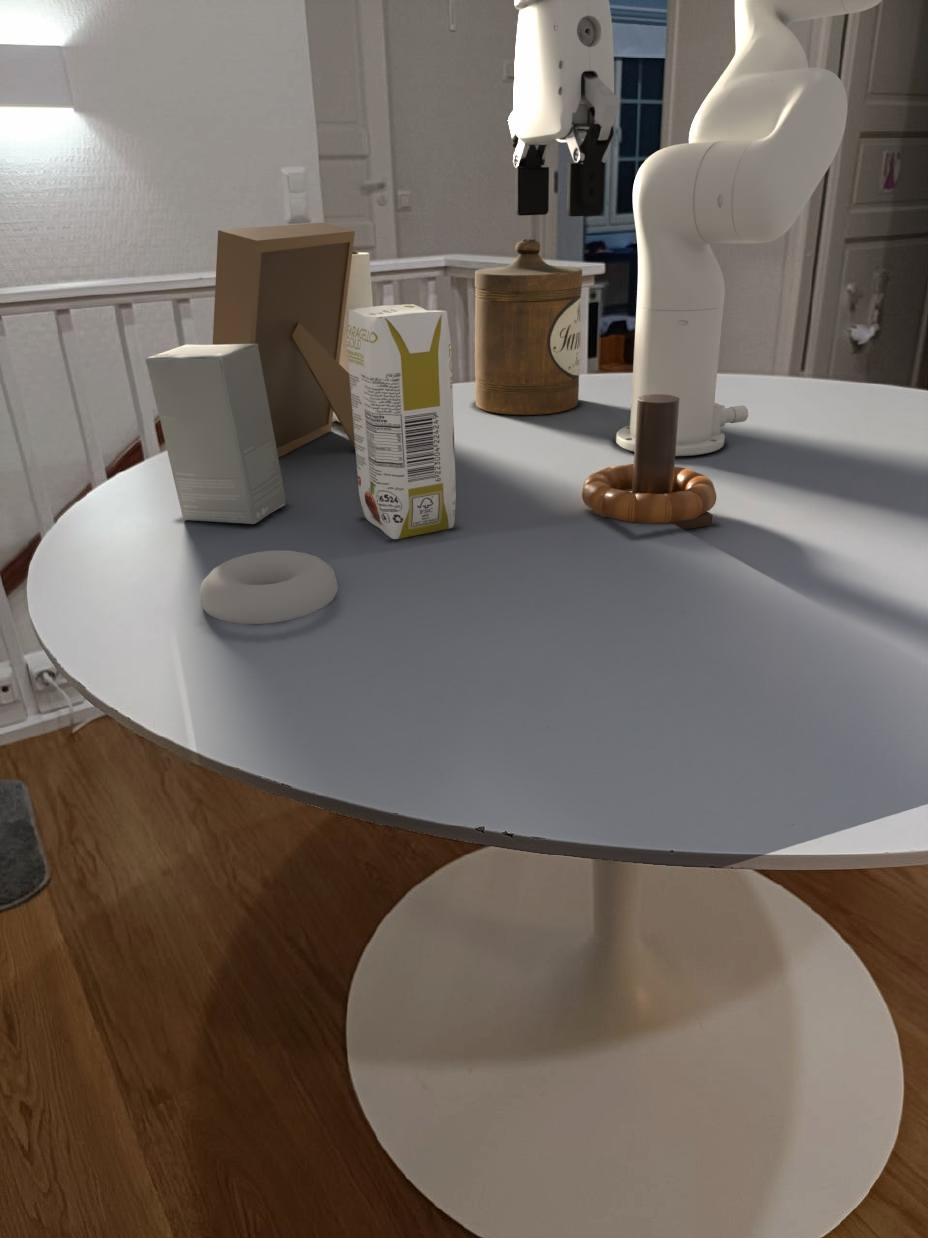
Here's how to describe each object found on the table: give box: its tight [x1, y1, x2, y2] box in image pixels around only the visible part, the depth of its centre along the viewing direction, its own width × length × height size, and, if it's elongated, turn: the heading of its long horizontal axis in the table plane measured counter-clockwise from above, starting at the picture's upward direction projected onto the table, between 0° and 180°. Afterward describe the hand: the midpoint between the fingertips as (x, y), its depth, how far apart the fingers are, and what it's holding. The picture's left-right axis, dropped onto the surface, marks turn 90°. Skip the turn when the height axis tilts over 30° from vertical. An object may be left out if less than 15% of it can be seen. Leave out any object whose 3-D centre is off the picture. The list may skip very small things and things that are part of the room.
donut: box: [199, 549, 339, 625], centre depth 65 cm, size 10×4×10 cm
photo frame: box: [212, 222, 356, 459], centre depth 100 cm, size 15×22×25 cm
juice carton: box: [347, 303, 457, 540], centre depth 78 cm, size 8×9×19 cm
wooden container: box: [474, 238, 583, 416], centre depth 122 cm, size 15×15×22 cm
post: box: [591, 394, 714, 530], centre depth 79 cm, size 8×8×11 cm
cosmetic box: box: [145, 344, 287, 525], centre depth 82 cm, size 8×7×16 cm
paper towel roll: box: [333, 250, 374, 423], centre depth 116 cm, size 7×6×21 cm
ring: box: [581, 463, 717, 524], centre depth 81 cm, size 12×12×3 cm
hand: (557, 215), depth 79 cm, fingers open, 9 cm apart
